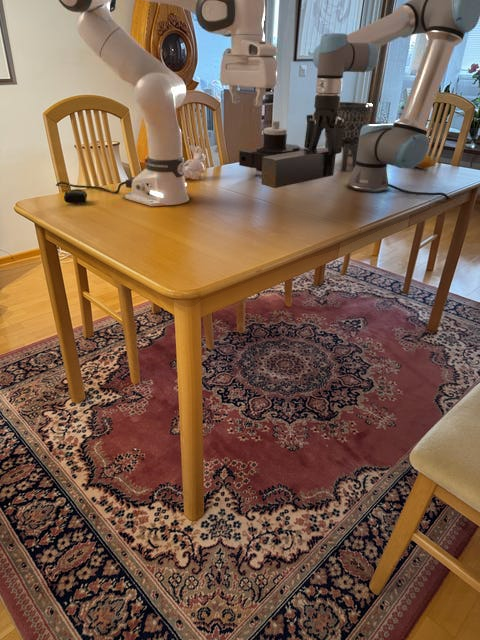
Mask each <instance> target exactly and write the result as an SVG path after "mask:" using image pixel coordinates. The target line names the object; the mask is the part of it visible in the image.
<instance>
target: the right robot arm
mask: <svg viewBox="0 0 480 640" xmlns="http://www.w3.org/2000/svg"><path fill="white" fill-rule="evenodd" d="M479 20H480V0H409V1H407V2H405V3H403V4H400V5H399V6H398V7H397V8H396V9H395V10H394V12H392V13H390V14H388V15H386V16H383V17H382V18H379V19H377V20H375V21H373V22H371V23H369V24H367V25H365V26H363V27H360V28H358V29H357V30H355V31H352V32H350V33H348V34H347V33H338V32H337V33H336V32H335V33H334V32H333V33H331V32H330V33H324V34H322V35H321V37H320V42H319V44H318V45H317V46H316V47H315V49H314V50H313V53H312V61H313V65H314V67H315V68H316V69H317V71H316V73H317V74H316V84H315V93H316V95H315V96H314V105H313V106H314V107H313V108H314V109H315V111H314V113H313V114H307V115H306V130H305V137H304V144H303V145H304V147H303V148H305V149H307V150H309V149H316V148H318V144H319V141H320V138H321V136H322V132H323V130H324V133H325V132H326V134H327V143H328V151H329V154H327V155H326V164H325V173H324V176H325V178H328V177H327V176H329V177H332V176H331V175H332V166H333V165H334V163H335V164H336V157H335V155H338V154H342V140H343V127H344V124H345V122H346V120H345V119H342V118H340V117H338V109H339V106H340V102H341V96H340V95H341V93H342V89H343V78H344V73H348V72H349V73H368V72H371V71H373V70H374V69H375V68H376V66H377V64H378V62H379V56H380V50H379V48H381V47H383V46H385V45H386V44H389V43H391V42H393V41H395V40H398V39H399V38H409V37H411V36H413V35H420V34H425V37H426V39H427V44H426V45H425V49H424V52H423V54H422V57H421V60H420V63H419V64H418V69H417V71H416V73H415V76H414V79H413V82H412V84H411V88H410V90H409V93H408V96H407V99H406V101H405V105H404V107H403V110H402V114H401V116H400V118H398V119H397V120H395V121H394V122H393V123H381V124H380V123H379V124H369V125H365V126H363V127H362V128H361V131H360V136H359V142H358V150H357V158H356V165H355V166H354V167H353V171H351V174H350V176H349V179H348V182H347V187H348V188H349V189H351V190H354V191H358V192H363V193H364V192H365V193H382V192H386V191H388V189H389V188H392V189H393V190H396V191H399V192H401V193H405V194H410V195H416V196H417V195H418V196H443V197H444V198H445V199H446V200H450V196H449V195H448V194H447V193H445V192H440V191H439V192H427V191H424V192H423V191H411V190H407V189H403V188H400V187H398V186H396V185H393V184H390V183H389V178H388V173H387V172H388V171H387V166H389V165H390V166H393V167H396V168H399V169H407V170H409V169H413V168H415V167H417V166H416V165H418V164H419V163H420V162H421V161H422V160H423V159H424V158H425V156H426V155H428V152H429V148H430V144H429V143H430V140H429V138H428V136H427V134H428V128H427V126H426V125H427V124H426V123H427V121H428V119H429V116H430V113H431V110H432V108H433V105H434V102H435V100H436V97H437V95H438V93H439V90H440V87H441V84H442V81H443V78H444V76H445V74H446V71H447V68H448V65H449V62H450V60H451V58H452V55H453V52H454V50H455V47H457V46H458V45H460V44H461V43H462V42H463V39H464V37H465V35H466V34H467V33H469V32H471V31H473V30H474V29H475V28H476V26H477V25H478V23H479ZM335 122H336V123H335ZM335 124H336V127H335ZM329 128H331V129H329ZM332 150H333V151H332ZM334 166H335V165H334Z"/></svg>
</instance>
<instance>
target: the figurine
mask: <svg viewBox="0 0 480 640" xmlns="http://www.w3.org/2000/svg"><path fill="white" fill-rule="evenodd" d="M189 149H190V151H191V152H192V154H193V159H191V158H190V159H187V160H186V161H185V162H184V167H185V168H184V178H186V179H187V178H188V179H190V180H200V178H199V176H200V175H201V174H204V173H205V171H206V169H205V165H204V162H205V159H206V154H204V153H203V149H202V147H200V146H199V145H197V144H196V146H195V145H193V144H191V145H189Z"/></svg>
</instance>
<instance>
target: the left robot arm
mask: <svg viewBox="0 0 480 640" xmlns="http://www.w3.org/2000/svg"><path fill="white" fill-rule="evenodd" d="M117 1H118V0H58V2H59V3H60V4H61V6H62V7H63V8H64V9H66V10H68V11H70V12H73V13H80V15H79V16H78V20H77V31H78V34H79V35H80V37H81V38H82V40H83V41H84V42H85V44H86V45H87V46H88V47H89V48H90V49H91V51H92V52H93V53H94V54H95V55H96V56H97V57H98V58H99V59H100V60H101V61H102V62H103V63H104V64H105V65H106V66H107V67H108V68H109V69H110V70H112V72H114V73H115V74H116V75H117V76H118V77H119V78H120V79H121V80H123V81H124V82H126V83H128V84H130V85H131V86H133V87H134V91H133V92H134V99H135V101H136V103H137V105H138V106H139V108H140V111H141V114H142V115H141V116H142V118H143V122H144V126H145V131H146V137H147V149H148V157H146V158H144V159H142V164H145V167H144V169H143V170H142V171H141V172H140V173H138V174H137V175H136V176H135V177H130V178H128V179H125V181H122V182H120V183H119V184H118V186H117V189H116V190H115V191H112V190H109V189H108V188H105V187H102V186H98V185H97V186H96V185H80V184H79V185H78V184H73V183H68V182H66V181H59V182H57V183H56V184H55V186H56V187H58V186H59V185H65V186H69V187H71V188H77V189H97V190H102V191H104V192H107V193H111V194H118V193H120V190H121V187H122V186H123V185H125V188H129V189H131V191H129V192H128V193H126V194H125V196H124V198H125V199H126V200H128V201H129V200H130V201H132V202H135V203H139V204H143V205H147V206H149V207H160V206H175V205H182V204H184V203H187V202H189V200H190V197H189V194H188V191H187V182H186V180H185V177H184V168H185V167H184V164H185V158H184V156H183V155H184V154H183V135H182V130H181V128H180V125H179V121H178V116H177V111H176V109H177V108H179V107H181V105H182V104H183V102H184V101H185V99H186V96H187V86H186V83H185V82H184V80H183V79H182V78H181V77H180V76H179V75H177V74H176V73H175V72H174V71H172V70H171V68H169V67H167V66H166V65H165V64H164V63H163V62H162V61H160V60H159V59H158V58H156V56H154V55H153V54H151V53H150V52H149V51H148V50H146V49H145V48H144V47H143V46H142V45H141V44H140V43H139V42H138V41H137V40H136V39H135V38H133V36H131V35H130V33H129V32H127V30H126V29H124V28H123V27H122V25H120V24H119V23H118V22H117V21H116V20H115V19H114V18H113V16H112V12H114V11H116V9H117ZM143 1H144V2H149V3H156V4H165V5H171V6H175V7H178V8H179V7H180V8H182V9H184V10H185V11H188V12H190V13H192V14H195V18H196V21H197V24H198V25H199V26H200V27H201V28H202V30H204V31H206V32H207V33H209V34H210V33H211V34H214V35H221V36H223V37H228V38H230V45H231V46H230V47H229V48H226V49H225V50H224V51H223V53H222V58H221V62H220V71H219V72H220V73H219V81H220V83H221V85H222V86H228V91H229V93H230V95H231V103H232V104H235V105H236V104H240V102H241V100H240V96H239V95H238V89H239V87H243V88H244V87H245V88H256V91H255V92H256V97H255V98H253V106H254V107H261V106H262V105H263V99H264V97H265V94H266V89H274V88H275V86H276V85H277V79H278V62H277V58H276V56H277V55H278V47H277V46H276V45H273V44H272V43H270V42H269V41H266V40H265V32H264V31H265V30H264V21H265V16H266V0H143ZM69 184H70V185H69Z"/></svg>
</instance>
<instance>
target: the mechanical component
mask: <svg viewBox="0 0 480 640" xmlns="http://www.w3.org/2000/svg"><path fill="white" fill-rule="evenodd" d="M287 138H288V129H287V128H286V127H280V121H279V120H272V126H271V127H265V128H264V129H263V145H262V146H258V147H257V148H256V151H250V150H245V149H241V150H239V153H238V154H239V155H238V157H239V159H238V166H240V167H245V168H250V169H255V173H256V174H257V175H261V176H262V157H264V156H271V155H277V154H284V153H290V152H296V151H303V150H308V149H307V148H305V147H301V146H299V145H297V144H290V143H287Z"/></svg>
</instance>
